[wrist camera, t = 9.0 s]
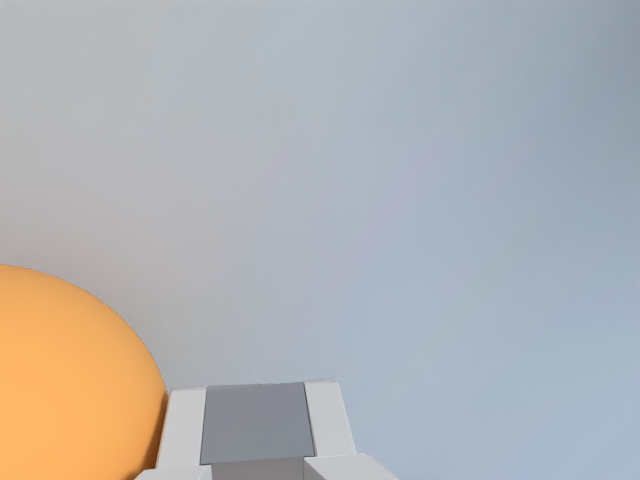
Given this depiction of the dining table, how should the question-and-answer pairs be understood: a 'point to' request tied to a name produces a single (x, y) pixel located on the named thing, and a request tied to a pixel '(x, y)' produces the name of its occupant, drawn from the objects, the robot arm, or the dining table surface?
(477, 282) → the dining table surface
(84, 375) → the ball
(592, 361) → the dining table surface
